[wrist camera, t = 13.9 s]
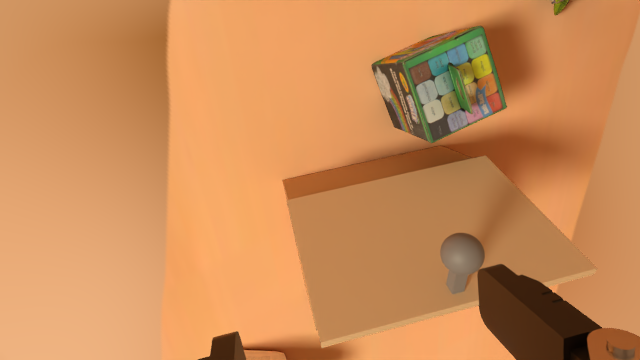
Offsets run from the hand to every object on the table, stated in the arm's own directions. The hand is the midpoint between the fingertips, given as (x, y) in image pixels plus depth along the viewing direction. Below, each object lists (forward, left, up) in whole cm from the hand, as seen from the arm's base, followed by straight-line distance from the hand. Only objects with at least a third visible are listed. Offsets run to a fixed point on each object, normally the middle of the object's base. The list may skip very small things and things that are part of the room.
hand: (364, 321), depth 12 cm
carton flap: (+9, +10, -21) cm, 25 cm away
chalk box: (-3, +18, -38) cm, 43 cm away
